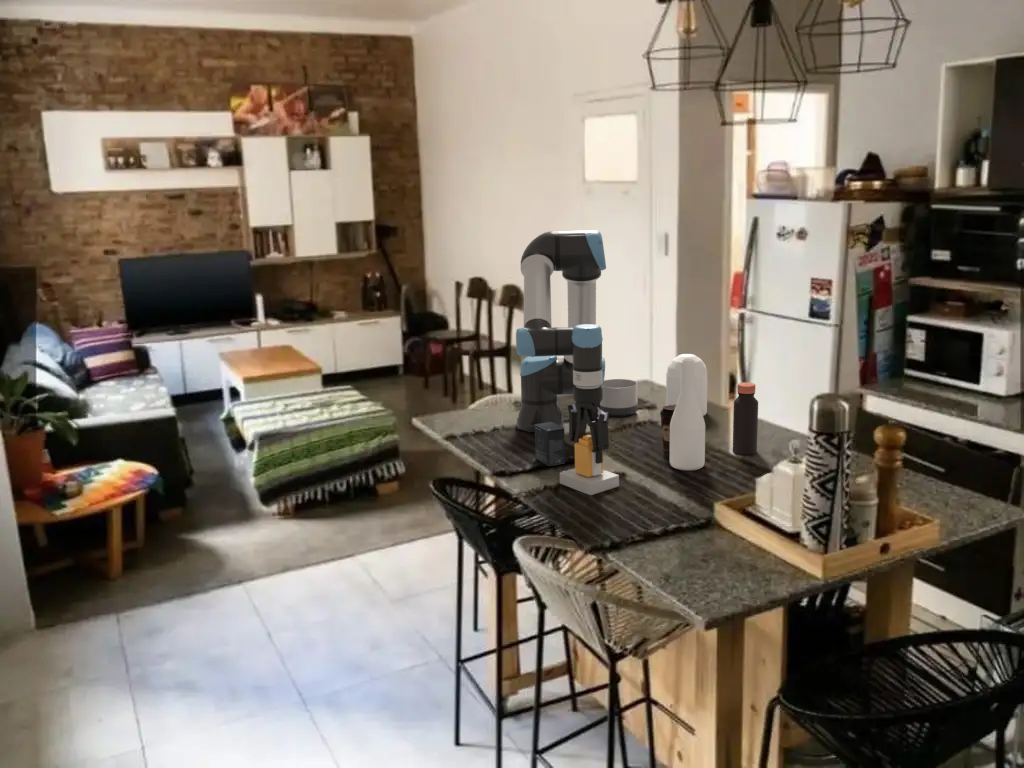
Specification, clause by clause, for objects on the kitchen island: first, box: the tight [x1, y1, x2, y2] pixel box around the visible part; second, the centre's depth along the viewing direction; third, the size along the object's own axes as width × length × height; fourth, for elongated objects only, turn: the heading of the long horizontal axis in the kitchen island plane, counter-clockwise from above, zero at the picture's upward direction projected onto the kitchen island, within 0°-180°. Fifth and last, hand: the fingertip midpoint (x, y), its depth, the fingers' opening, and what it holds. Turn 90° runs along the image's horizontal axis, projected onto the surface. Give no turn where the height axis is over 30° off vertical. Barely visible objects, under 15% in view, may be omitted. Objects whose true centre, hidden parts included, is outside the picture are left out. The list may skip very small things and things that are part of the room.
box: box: [534, 422, 566, 467], centre depth 256 cm, size 8×6×11 cm
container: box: [665, 353, 708, 417], centre depth 300 cm, size 14×13×20 cm
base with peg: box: [559, 467, 620, 496], centre depth 238 cm, size 15×10×8 cm, turn 37°
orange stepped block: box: [574, 434, 604, 477], centre depth 235 cm, size 5×5×10 cm
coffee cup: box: [659, 405, 676, 453], centre depth 262 cm, size 9×8×13 cm
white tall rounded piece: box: [669, 359, 706, 471], centre depth 246 cm, size 10×10×30 cm
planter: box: [600, 378, 639, 418], centre depth 303 cm, size 13×13×10 cm
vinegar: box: [732, 381, 759, 456], centre depth 257 cm, size 7×7×20 cm
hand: (589, 471), depth 237 cm, fingers closed on orange stepped block, 5 cm apart
